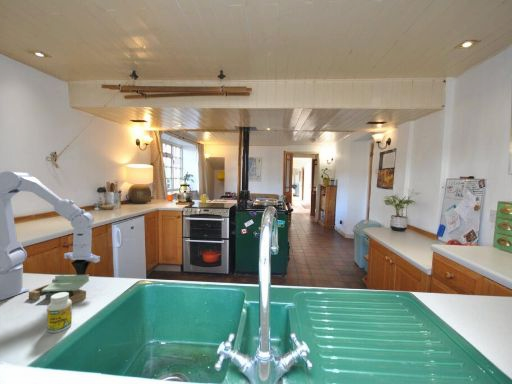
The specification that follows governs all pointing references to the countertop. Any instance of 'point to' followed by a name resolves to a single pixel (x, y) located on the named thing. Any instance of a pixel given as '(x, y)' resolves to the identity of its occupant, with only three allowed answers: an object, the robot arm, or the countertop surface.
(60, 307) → the supplement bottle
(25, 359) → the countertop surface
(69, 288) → the cover
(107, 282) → the countertop surface
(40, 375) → the countertop surface
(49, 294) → the gray rectangular block
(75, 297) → the brown wooden frame
